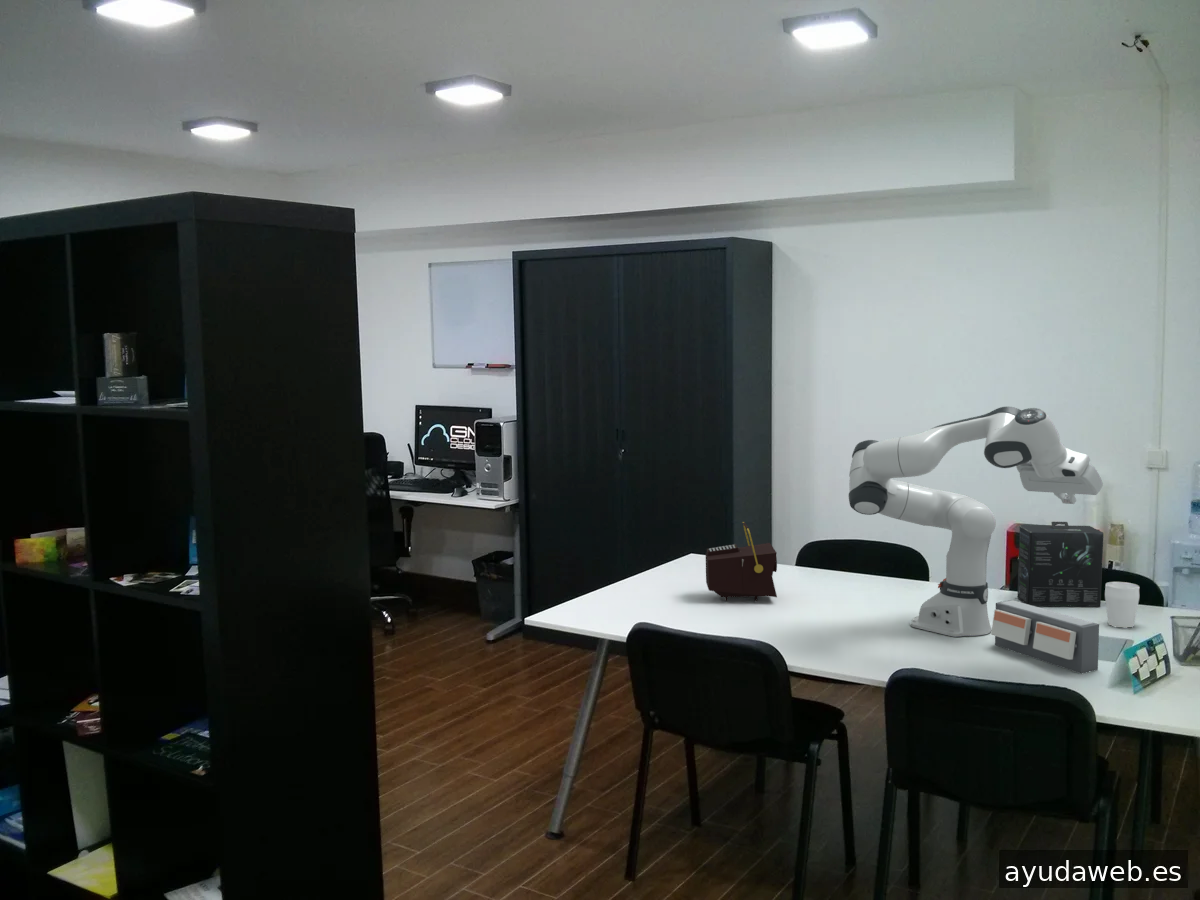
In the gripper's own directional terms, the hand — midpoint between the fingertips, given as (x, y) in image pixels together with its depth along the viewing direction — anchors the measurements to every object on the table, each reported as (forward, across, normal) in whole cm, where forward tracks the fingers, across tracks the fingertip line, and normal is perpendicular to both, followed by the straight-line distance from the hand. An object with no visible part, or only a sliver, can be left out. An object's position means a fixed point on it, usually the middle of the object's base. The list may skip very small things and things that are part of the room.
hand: (1069, 502), depth 266 cm
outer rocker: (+26, -1, -30) cm, 39 cm away
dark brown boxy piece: (+17, -103, -38) cm, 111 cm away
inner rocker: (+26, -14, -28) cm, 41 cm away
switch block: (+34, -6, -24) cm, 42 cm away
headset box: (+62, -34, +17) cm, 73 cm away
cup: (+58, -8, +8) cm, 59 cm away
